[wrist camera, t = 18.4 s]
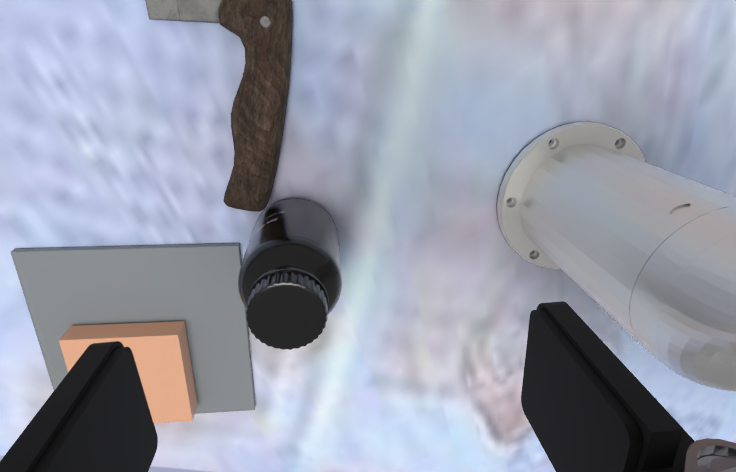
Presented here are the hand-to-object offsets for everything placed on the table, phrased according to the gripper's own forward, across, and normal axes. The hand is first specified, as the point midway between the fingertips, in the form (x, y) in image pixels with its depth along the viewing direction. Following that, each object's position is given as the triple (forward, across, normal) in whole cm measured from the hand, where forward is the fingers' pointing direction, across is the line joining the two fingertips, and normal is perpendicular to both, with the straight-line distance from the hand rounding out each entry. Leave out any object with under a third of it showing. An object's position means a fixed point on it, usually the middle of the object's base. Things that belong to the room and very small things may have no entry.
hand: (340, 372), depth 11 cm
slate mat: (+26, +17, +16) cm, 35 cm away
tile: (+24, +18, +14) cm, 33 cm away
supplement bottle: (+27, +3, +7) cm, 28 cm away
